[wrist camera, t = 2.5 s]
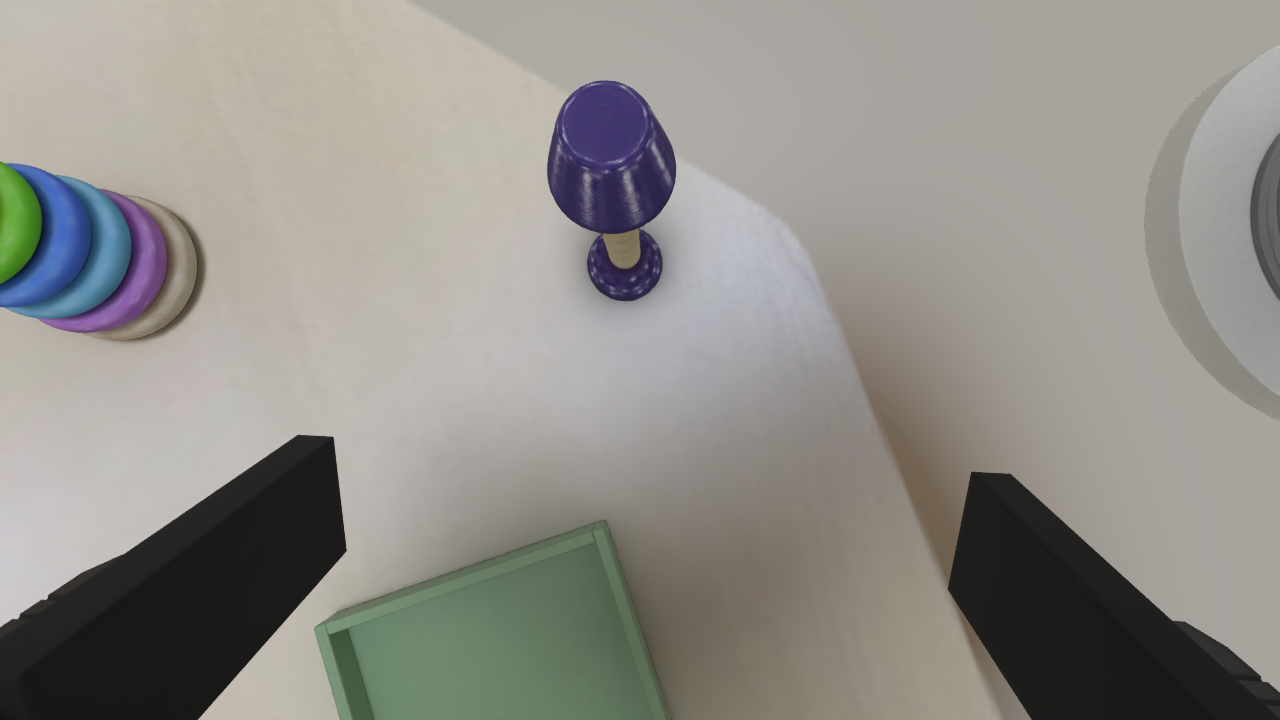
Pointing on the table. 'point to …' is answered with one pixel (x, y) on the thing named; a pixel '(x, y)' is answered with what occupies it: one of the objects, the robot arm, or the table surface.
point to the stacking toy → (90, 256)
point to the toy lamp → (613, 182)
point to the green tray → (500, 642)
